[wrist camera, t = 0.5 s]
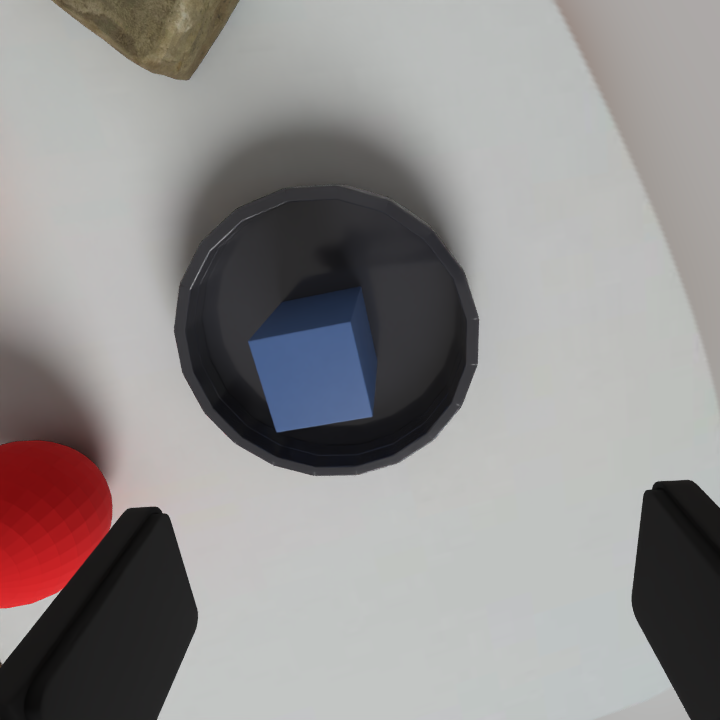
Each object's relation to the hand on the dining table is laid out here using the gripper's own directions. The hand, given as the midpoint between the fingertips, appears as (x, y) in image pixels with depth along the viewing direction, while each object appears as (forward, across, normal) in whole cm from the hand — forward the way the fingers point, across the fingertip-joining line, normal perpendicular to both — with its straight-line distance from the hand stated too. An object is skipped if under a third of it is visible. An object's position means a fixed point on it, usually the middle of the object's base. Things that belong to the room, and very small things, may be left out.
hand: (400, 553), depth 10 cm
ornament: (+18, +22, +9) cm, 30 cm away
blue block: (+18, +4, +1) cm, 18 cm away
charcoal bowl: (+18, +4, +1) cm, 18 cm away
